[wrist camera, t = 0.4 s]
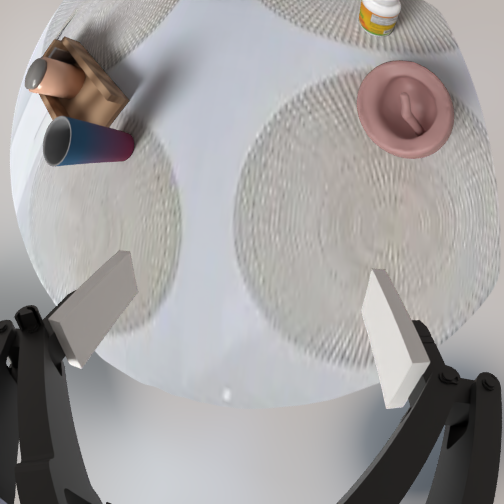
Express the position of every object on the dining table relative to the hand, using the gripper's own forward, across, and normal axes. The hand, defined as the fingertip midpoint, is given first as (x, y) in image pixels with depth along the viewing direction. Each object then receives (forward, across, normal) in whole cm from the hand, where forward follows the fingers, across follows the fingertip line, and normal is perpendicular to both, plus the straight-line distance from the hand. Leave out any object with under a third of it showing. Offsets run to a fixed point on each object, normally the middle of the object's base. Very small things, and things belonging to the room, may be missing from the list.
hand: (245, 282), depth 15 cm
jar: (+34, -40, +20) cm, 57 cm away
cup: (+30, -25, +5) cm, 40 cm away
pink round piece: (+26, +16, +10) cm, 33 cm away
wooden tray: (+35, -38, +18) cm, 54 cm away
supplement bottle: (+30, +15, +26) cm, 42 cm away
